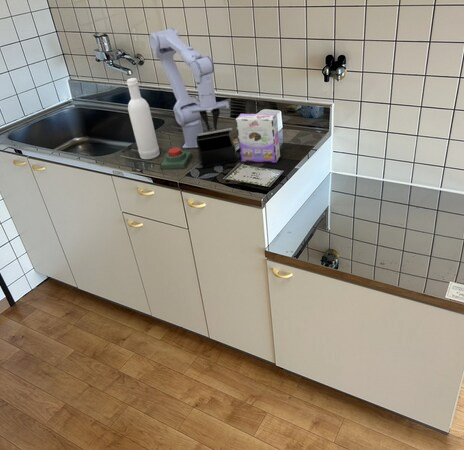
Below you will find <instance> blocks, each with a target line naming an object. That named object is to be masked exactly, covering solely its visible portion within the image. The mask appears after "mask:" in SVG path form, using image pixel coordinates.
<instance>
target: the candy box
mask: <svg viewBox="0 0 464 450" xmlns="http://www.w3.org/2000/svg"><path fill="white" fill-rule="evenodd" d="M235 126H236V134H237V140H238V146H239V148H238V149H239V155H240V156H239V157H240V161H241V162H248V163H249V162H250V163H272V164H273V163H275V164H277V162H278V161H279V159H280V158H281V150H280V149H281V147H280V136H279V124H278V114H277V113H240V114H239V115H238V116H237V117H236V118H235Z"/></svg>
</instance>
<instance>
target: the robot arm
mask: <svg viewBox="0 0 464 450" xmlns="http://www.w3.org/2000/svg"><path fill="white" fill-rule="evenodd" d="M149 45H150V48H151V50H152V53H153V55H154V57H155V58H156V59H158V60H159V62H160V64H161V66H162V68H163V71H164V74H165V76H166V78H167V80H168V83H169V85H170V88H171V90H172V93H173V95H174V98H175V100H176V102H175V104H174V106H173V108H172V109H173V113H174V118H175V121H176V122H177V124H178V125H179V126H181V130H182V134H183V139H184V144H183V145H182V149H195V148H196V149H198V146H197V141H196V137H197V134H201V133H204V128H203V124H202V120H203V122H204V123H205V126H206V128H207V129H206V130H207V132H211V127H210V124H209V123H210V122H209V116H208V112H211V114H212V115H211V116H212V119H213V121H212V122H213V129H214V131H218V120H219V116H220V114H221V109H229V108H230V105H229V104H230V103H229V101H227V100H226V101H217V99H216V93H215V87H214V80H213V73H214V72H215V63H214V61H213V59H212V58H211V56H210V55H202V54H201V53H200V52H199V51H197V50H196V49H195V47H193V46H192V45H191V46H187V45H186V44H185V43H184V41H183V40H182V39H181V38H180V34H179V32H178V30H177V29H176V28H175V27H171V28H168V29H165V30H164V29H163V30H159V31H155V32H151V33H150V34H149ZM176 53H177V54H179V55H180V59H181V61H182V62H184V63H185V64H186V65H187V66H188V68H190V71H191V73H192V75H193V80H194V82H195V83H196V88H197V93H198V94H197V95H198V99H199V102H198V100H197V99H196V98H194V97H191V96H190V95H189V93H188V90H187V87H186V85H185V83H184V80H183V78H182V75H181V73H180V71H179V68H178V66H177V64H176V62H175V59H174V55H176ZM200 140H201V139H200Z"/></svg>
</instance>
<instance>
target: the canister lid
mask: <svg viewBox="0 0 464 450" xmlns="http://www.w3.org/2000/svg"><path fill="white" fill-rule="evenodd" d="M232 131H233V127H229V128H224V129H217V130H212V131H207V132H203V133H201V134H197V137H196V140H200V139H207V138H212V137H218V136H223V135H230V134H231V133H232Z"/></svg>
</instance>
